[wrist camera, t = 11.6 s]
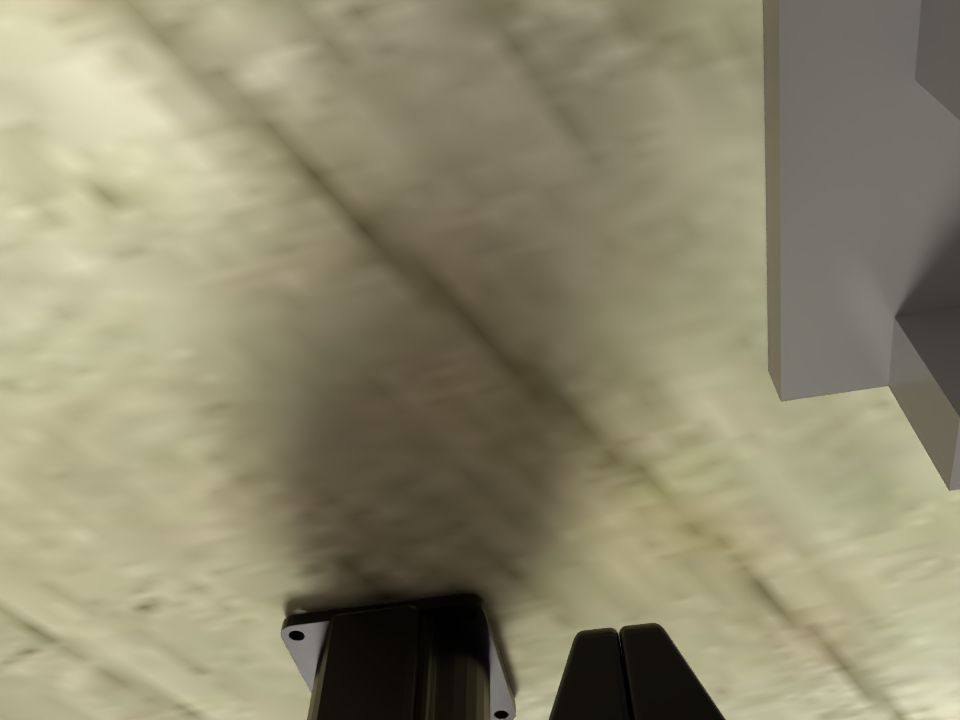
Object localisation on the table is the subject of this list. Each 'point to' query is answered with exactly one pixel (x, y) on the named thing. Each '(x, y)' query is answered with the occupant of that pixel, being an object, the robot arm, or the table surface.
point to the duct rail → (866, 206)
